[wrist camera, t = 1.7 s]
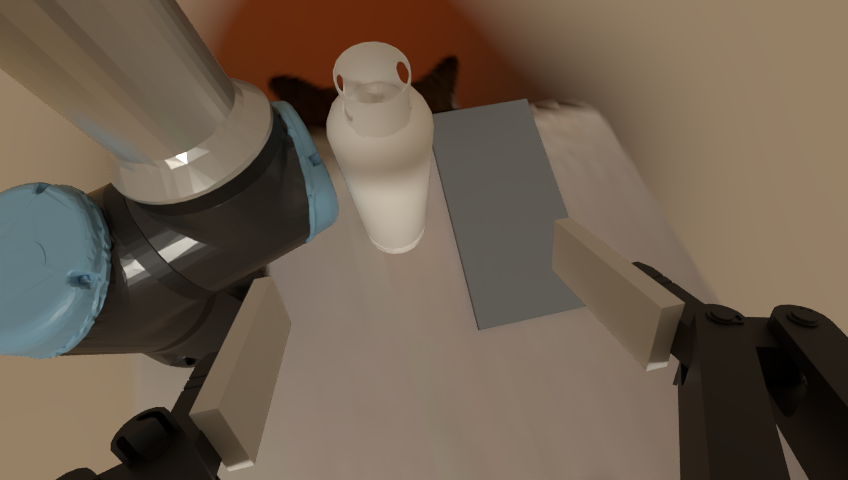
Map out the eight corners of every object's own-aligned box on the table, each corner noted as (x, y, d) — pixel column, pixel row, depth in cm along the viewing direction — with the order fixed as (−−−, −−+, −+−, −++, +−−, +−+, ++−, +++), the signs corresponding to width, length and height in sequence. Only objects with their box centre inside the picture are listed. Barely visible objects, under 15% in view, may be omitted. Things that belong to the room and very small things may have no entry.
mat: (596, 303, 45) (599, 303, 45) (478, 330, 44) (479, 329, 43) (525, 102, 54) (526, 98, 54) (425, 118, 53) (425, 115, 52)
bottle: (432, 244, 47) (455, 111, 20) (374, 260, 46) (319, 143, 20) (415, 192, 49) (417, 10, 23) (360, 206, 49) (293, 35, 22)
